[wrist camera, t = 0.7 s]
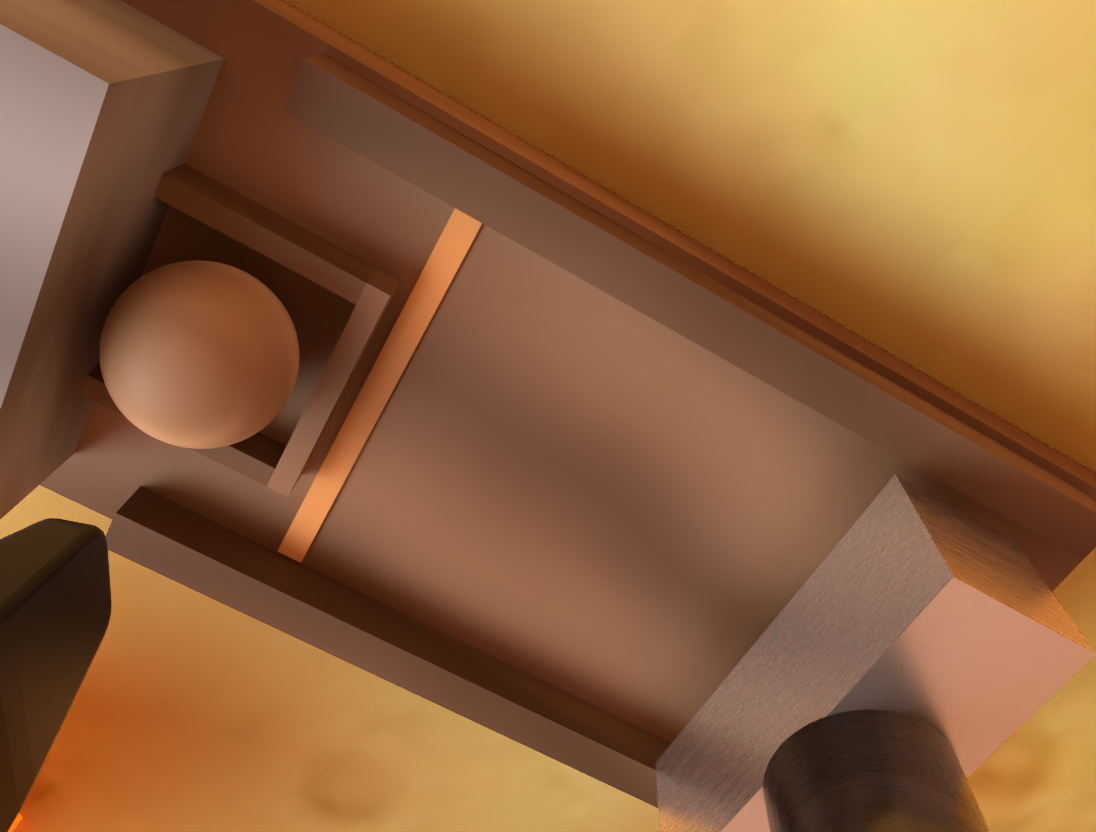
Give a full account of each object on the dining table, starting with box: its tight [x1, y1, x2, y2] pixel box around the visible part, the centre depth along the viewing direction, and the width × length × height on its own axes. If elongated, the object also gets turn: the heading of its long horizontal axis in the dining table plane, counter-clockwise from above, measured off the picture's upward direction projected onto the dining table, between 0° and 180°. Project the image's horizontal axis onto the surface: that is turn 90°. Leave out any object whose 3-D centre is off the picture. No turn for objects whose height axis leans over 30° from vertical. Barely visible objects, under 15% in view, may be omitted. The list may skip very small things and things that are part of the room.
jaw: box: [656, 474, 1096, 832], centre depth 17 cm, size 9×4×9 cm, turn 151°
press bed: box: [0, 0, 1096, 808], centre depth 20 cm, size 12×24×6 cm, turn 61°
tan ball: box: [100, 260, 300, 449], centre depth 18 cm, size 4×4×4 cm
